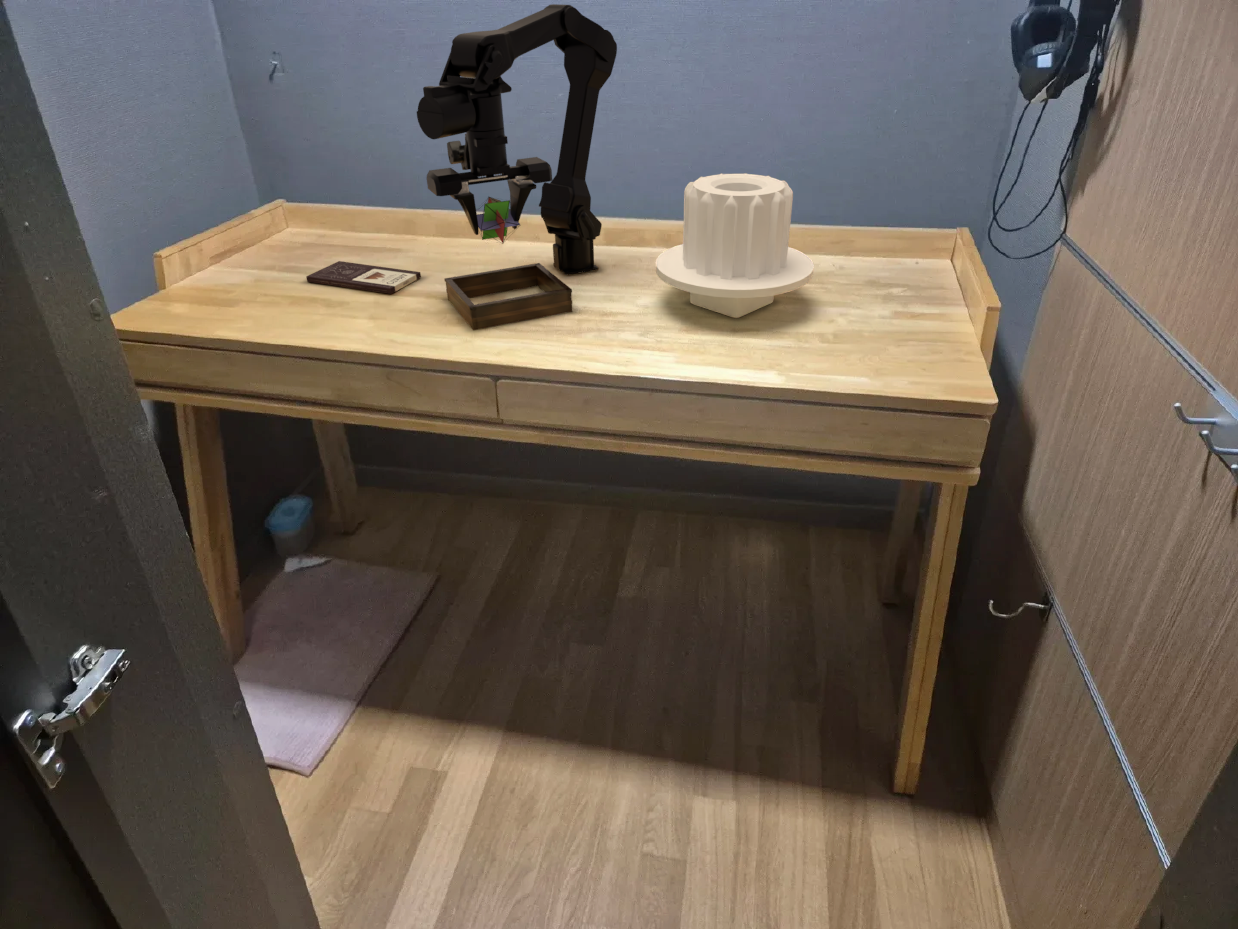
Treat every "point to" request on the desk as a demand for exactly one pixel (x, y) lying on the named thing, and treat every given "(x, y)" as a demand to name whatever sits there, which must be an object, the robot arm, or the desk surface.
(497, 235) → the geometric puzzle
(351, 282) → the chocolate bar
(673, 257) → the ribbed cylinder on disc
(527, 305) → the square wooden frame
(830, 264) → the desk surface
